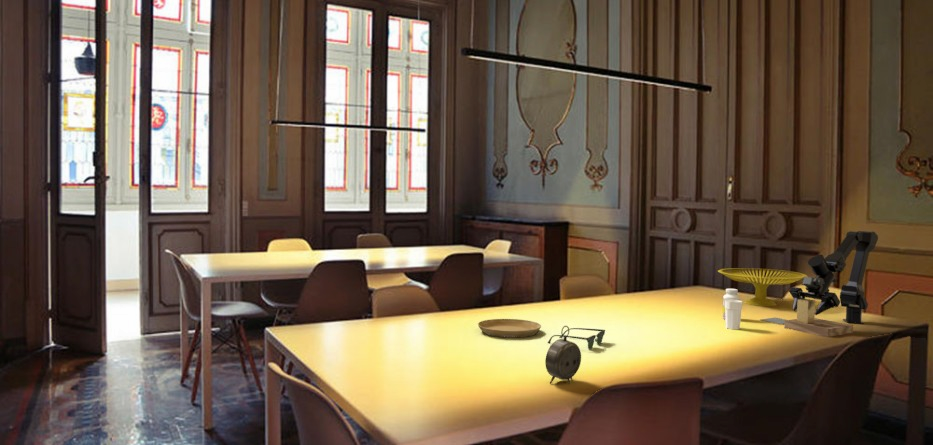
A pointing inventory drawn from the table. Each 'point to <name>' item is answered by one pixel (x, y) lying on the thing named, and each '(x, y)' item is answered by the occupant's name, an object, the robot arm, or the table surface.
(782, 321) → the slate mat
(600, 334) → the sunglasses
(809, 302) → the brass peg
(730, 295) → the supplement bottle
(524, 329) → the plant saucer
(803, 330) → the two-hole peg block
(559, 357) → the alarm clock
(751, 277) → the slatted pedestal fruit bowl
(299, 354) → the table surface
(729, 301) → the cup
